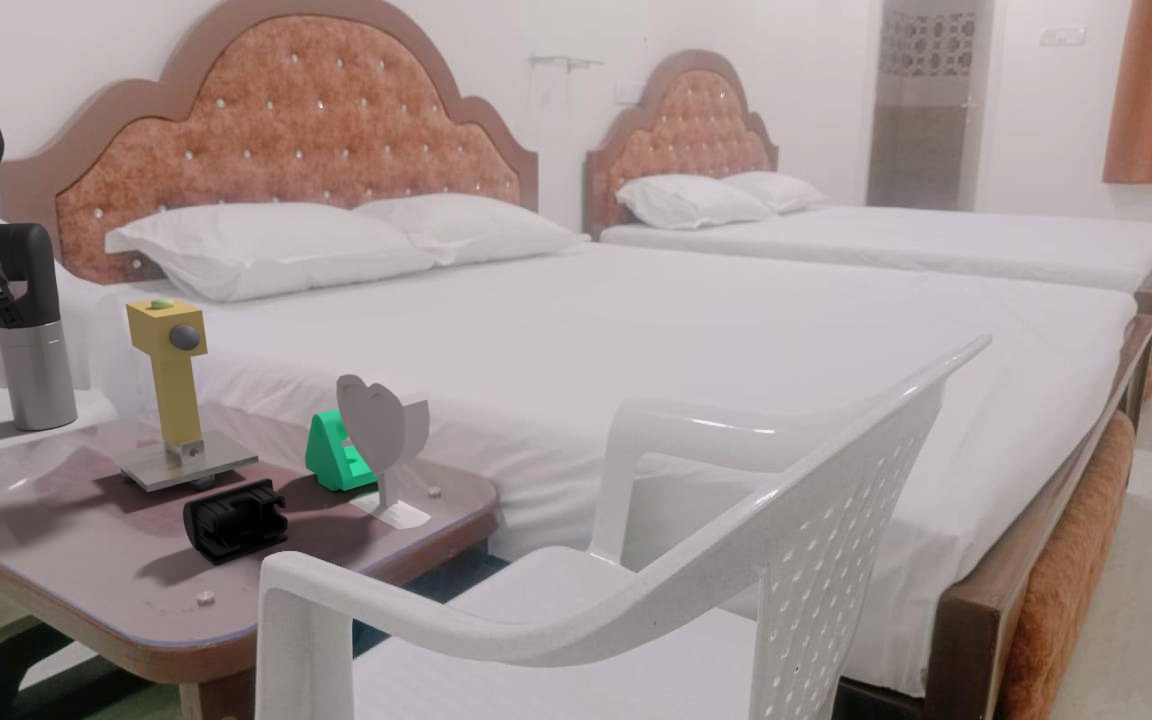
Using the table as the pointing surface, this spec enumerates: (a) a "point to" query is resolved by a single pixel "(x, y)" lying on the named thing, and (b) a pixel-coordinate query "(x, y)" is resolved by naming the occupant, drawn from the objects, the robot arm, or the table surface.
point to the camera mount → (334, 454)
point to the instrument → (171, 360)
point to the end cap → (236, 522)
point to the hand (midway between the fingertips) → (15, 324)
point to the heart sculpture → (384, 437)
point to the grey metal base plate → (183, 462)
